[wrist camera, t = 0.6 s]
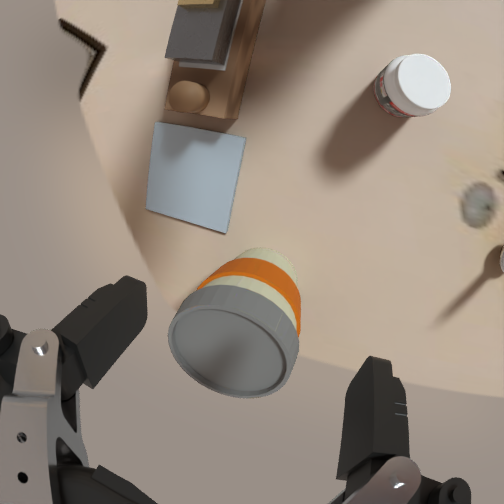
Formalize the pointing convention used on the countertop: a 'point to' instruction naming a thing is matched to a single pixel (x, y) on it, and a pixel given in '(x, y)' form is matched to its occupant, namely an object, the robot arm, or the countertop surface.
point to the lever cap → (202, 31)
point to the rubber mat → (194, 174)
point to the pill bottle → (412, 86)
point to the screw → (502, 259)
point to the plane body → (218, 72)
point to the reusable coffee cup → (241, 326)
